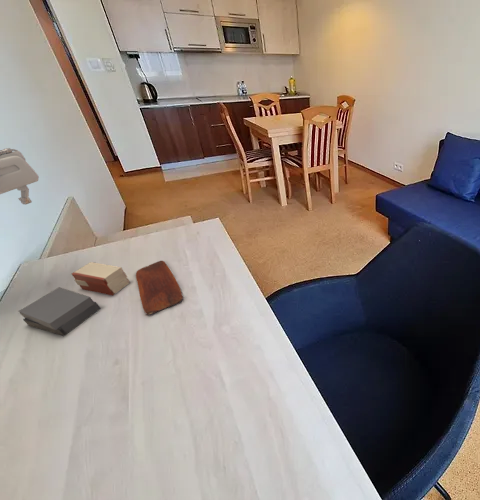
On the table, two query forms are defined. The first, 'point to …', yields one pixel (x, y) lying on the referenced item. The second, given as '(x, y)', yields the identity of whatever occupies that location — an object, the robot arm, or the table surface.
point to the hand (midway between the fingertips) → (7, 211)
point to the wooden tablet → (157, 287)
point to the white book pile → (105, 289)
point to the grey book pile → (59, 311)
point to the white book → (98, 273)
